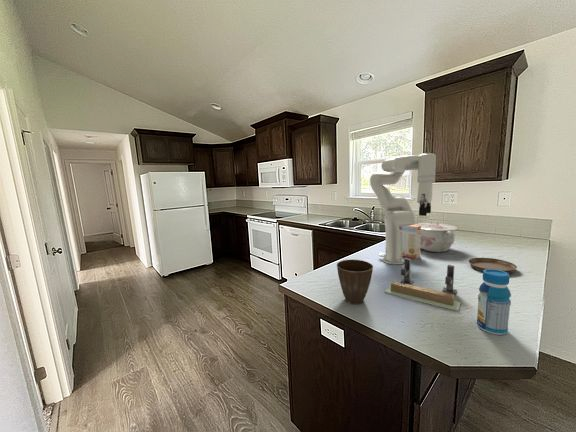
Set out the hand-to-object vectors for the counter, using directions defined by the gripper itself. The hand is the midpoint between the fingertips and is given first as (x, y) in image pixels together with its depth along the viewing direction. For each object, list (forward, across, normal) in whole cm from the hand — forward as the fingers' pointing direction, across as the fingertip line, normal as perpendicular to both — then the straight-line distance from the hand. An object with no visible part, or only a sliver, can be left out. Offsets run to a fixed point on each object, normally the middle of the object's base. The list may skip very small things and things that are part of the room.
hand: (424, 214), depth 123 cm
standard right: (+33, +12, +13) cm, 38 cm away
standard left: (+33, +12, -5) cm, 36 cm away
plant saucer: (+34, -34, +27) cm, 55 cm away
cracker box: (+34, -34, -16) cm, 50 cm away
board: (+33, +24, +4) cm, 41 cm away
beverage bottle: (+34, +34, +28) cm, 55 cm away
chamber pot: (+34, -58, -5) cm, 67 cm away
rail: (+33, +24, +4) cm, 41 cm away
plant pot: (+34, +42, -18) cm, 57 cm away
